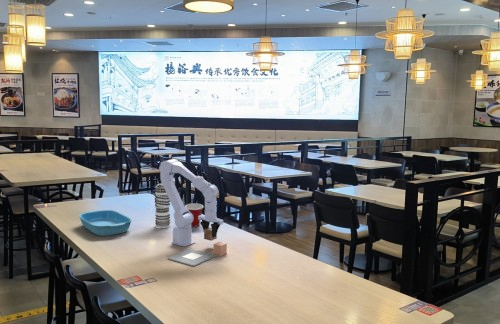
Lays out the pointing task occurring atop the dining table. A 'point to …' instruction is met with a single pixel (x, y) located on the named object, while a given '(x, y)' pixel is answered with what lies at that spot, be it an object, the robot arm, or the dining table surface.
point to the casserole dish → (105, 222)
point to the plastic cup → (195, 213)
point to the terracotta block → (219, 248)
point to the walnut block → (209, 234)
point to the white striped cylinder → (162, 207)
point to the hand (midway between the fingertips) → (210, 235)
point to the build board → (192, 257)
